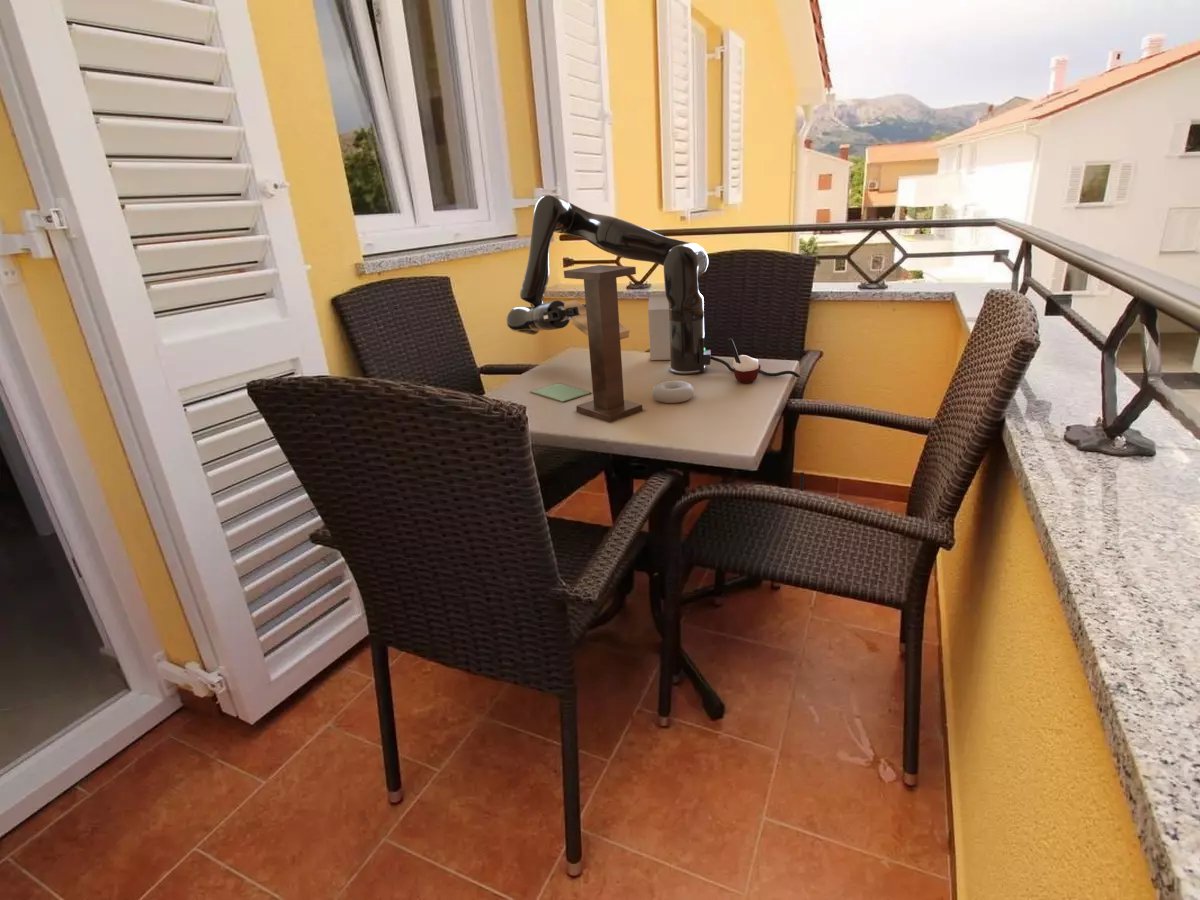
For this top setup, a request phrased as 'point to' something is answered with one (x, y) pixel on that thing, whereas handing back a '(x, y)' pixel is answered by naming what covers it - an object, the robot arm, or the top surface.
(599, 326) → the stand
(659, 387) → the donut
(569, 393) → the cloth
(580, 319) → the paddle
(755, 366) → the cocoa
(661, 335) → the milk carton
